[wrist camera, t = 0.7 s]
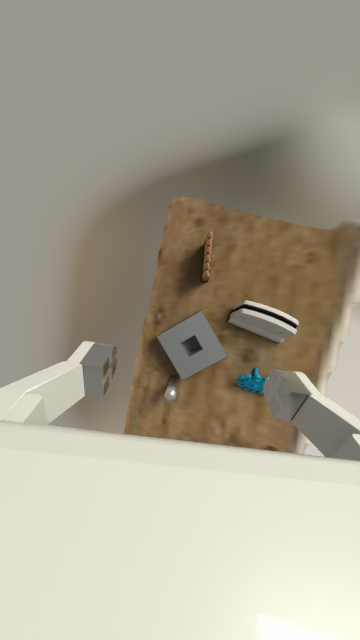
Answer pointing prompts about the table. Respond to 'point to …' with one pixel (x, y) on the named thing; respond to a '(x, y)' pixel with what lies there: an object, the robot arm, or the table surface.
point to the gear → (252, 382)
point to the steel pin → (171, 389)
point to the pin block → (191, 345)
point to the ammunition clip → (206, 257)
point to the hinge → (263, 321)
